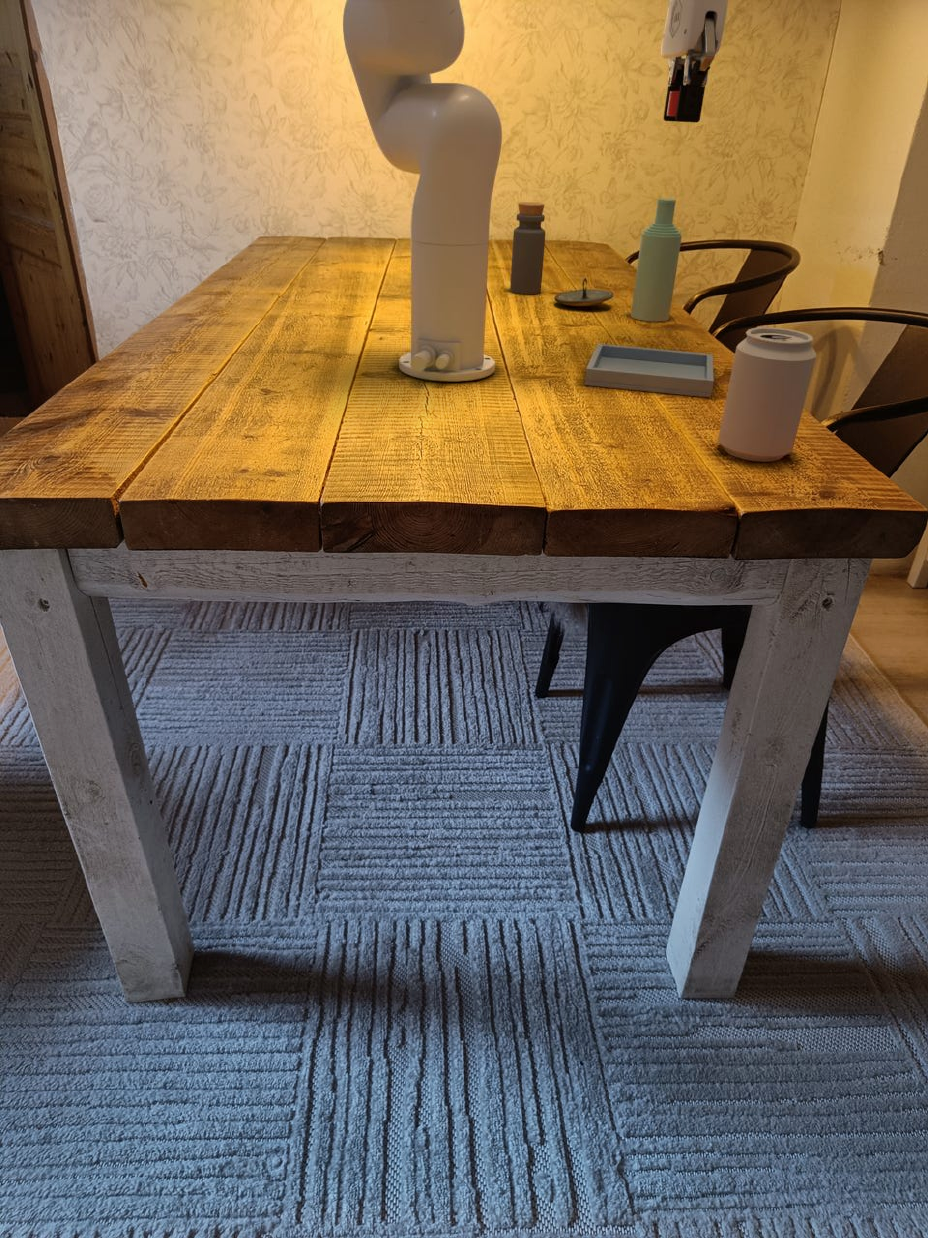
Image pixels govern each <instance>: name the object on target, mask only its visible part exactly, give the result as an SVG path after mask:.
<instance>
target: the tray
mask: <svg viewBox="0 0 928 1238" xmlns="http://www.w3.org/2000/svg"><path fill="white" fill-rule="evenodd" d="M714 382H715V375H714V354H712V353H703V352H691V351H682V350H669V349H660V348H659V349H658V348H649V347H637V346H627V345H626V346H625V345H617V344H606V343H605V344H604V343H597V344H596V347H595V349H594V351H593V353H592V355H591V356H590V360H589V362H588V364H587V366H586V368H585V377H584V385H585V386H591V387H598V388H599V387H600V388H611V389H619V390H620V389H621V390H629V391H639V392H649V393H660V394H668V395H669V394H670V395H679V396H689V397H699V398H707V399H708V398H709V399H711V397H712V393H713V389H714Z"/></svg>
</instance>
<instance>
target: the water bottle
mask: <svg viewBox="0 0 928 1238" xmlns="http://www.w3.org/2000/svg"><path fill="white" fill-rule="evenodd" d="M676 203H677V201H676V199H675V198H674V199H673V198H657V201H656V210H655V216H654V222H652V224H649V225H648V226H647V227H646V228H645V229H643V231H642V232H641V237H640V244H639V251H638V259H637V266H636V272H635V273H636V274H635V281H634V289H633V296H632V302H631V303H632V304H631V311H630V317H631V318H632V319H635V320H638V321H642V322H651V323H652V322H653V323H654V322H659V323H660V322H666V321H669V320H670V314H671V307H672V301H673V297H674V296H673V295H674V289H675V281H676V275H677V271H678V263H679V256H680V250H681V243H682V238H683V235H682V232H681V231H680V230H679V229H678V227H677V226H675V224H674V223H673V221H674V215H675V207H676Z"/></svg>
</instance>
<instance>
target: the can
mask: <svg viewBox="0 0 928 1238" xmlns="http://www.w3.org/2000/svg"><path fill="white" fill-rule="evenodd" d="M745 334H746V337H745V338H744V339H743V340H742V341H740V342H739V343H738V344H737V346H736V347H735V353H734V356H733V363H732V367H731V373H730V377H729V382H728V386H727V387H728V388H727V392H726V397H725V402H724V407H723V411H722V417H721V422H720V427H719V432H718V437H717V440H718V443H719V444H720V445H721V446H722V447H723V449H724V451H725V452H727V453H728V454H729V455H731V456H732V457H735V458H738V459H742V460H745V461H752V462H760V463H761V462H763V463H764V462H775V461H780V459H782V458H784V457H785V456H786V455H788V454H790V453H792V452H793V450H794V447H795V442H796V439H797V435H798V430H799V428H800V427H799V426H800V422H801V418H802V415H803V411H804V407H805V402H806V398H807V394H808V391H809V387H810V382H811V380H812V375H813V371H814V367H815V363H816V359H817V355H818V354H817V352H816V351H815V349H814V347H813V346H812V343H813V341H814V340H815V339H814V337H813V335H811V334H809V333H806V332H804V331H800V330H796V329H792V328H791V329H790V328H783V327H773V326H772V327H770V326H769V327H768V326H761V327H753V328H749V329H748V330H747V331H746V332H745Z"/></svg>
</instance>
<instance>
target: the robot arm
mask: <svg viewBox="0 0 928 1238" xmlns="http://www.w3.org/2000/svg"><path fill="white" fill-rule="evenodd" d="M728 3H729V0H668V5H667V12H666V17H665V24H664V29H663V35H662V41H661V47H660V54H661V56H662V58H663V59H668V65H669V69H668V71H669V73H668V74H669V75H668V80H667V91H666V97H665V104H664V112H663V121H665V122H674V123H675V122H678V123H680V122H681V123H699V122H700V120H701V114H702V110H703V102H704V97H705V90H706V86H707V84H708V78H709V77H708V76H709V70H710V69H711V65H712V64H713V61H714V60H715V58H716V55H717V54H718V53H719V51H720V48H721V45H722V40H723V35H724V29H725V26H726V25H725V24H726V19H727V18H726V17H727V11H728ZM342 32H343V41H344V47H345V51H346V55H347V58H348V62H349V65H350V67H351V70H352V74H353V77H354V80H355V84H356V86H357V90H358V92H359V96H360V98H361V101H362V104H363V107H364V110H365V114H366V117H367V120H368V122H369V125H370V128H371V131H372V134H373V137H374V139H375V142H376V144H377V146H378V148H379V150H380V152H381V154H382V155H383V157H384V158H385V159H386V161H387V162H388V163H389V164H390V165H391V166H393V167H394V168H395V169H397V170H399V171H400V172H403V173H407V174H411V175H415V176H419V177H418V182H417V185H416V188H415V192H414V195H413V201H412V205H411V214H410V351H409V352H407V353H404V354H403V355H401V356H400V357H399V359H398V369H399V370H400V372H403V373H404V374H405V375H408V376H410V377H413V378H416V379H421V380H427V381H436V382H469V381H475V380H480V379H484V378H487V377H489V376H491V375H492V374H494V373H495V371H496V361H495V359H493V358H492V357H491V356H489V355H487V354H485V340H486V339H485V337H486V316H487V295H488V293H487V292H488V273H489V271H488V270H489V251H490V250H489V249H490V223H491V210H492V209H491V208H492V199H493V192H494V185H495V179H496V174H497V170H498V166H499V161H500V156H501V150H502V144H503V143H502V141H503V129H502V122H501V117H500V115H499V112H498V109H497V108H496V106H495V104H494V103H493V101H492V100H491V99H490V97H489V96H488V95H487V94H486V93H484V92H483V90H480V89H479V88H476V87H475V86H472V85H469V84H465V83H459V82H433V80H432V76H431V75H433V74H438V73H440V72H443V71H445V70H447V69H448V68H450V67H451V66H453V65H454V64H455V62H456V61H457V60H458V59H459V57H460V55H461V53H462V51H463V49H464V44H465V38H466V29H465V19H464V13H463V9H462V3H461V1H460V0H346V2H345V5H344V9H343V16H342ZM684 56H685V58H684ZM670 91H679V98H678V104H677V111H676V116H667V109H668V102H669V96H670Z"/></svg>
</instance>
